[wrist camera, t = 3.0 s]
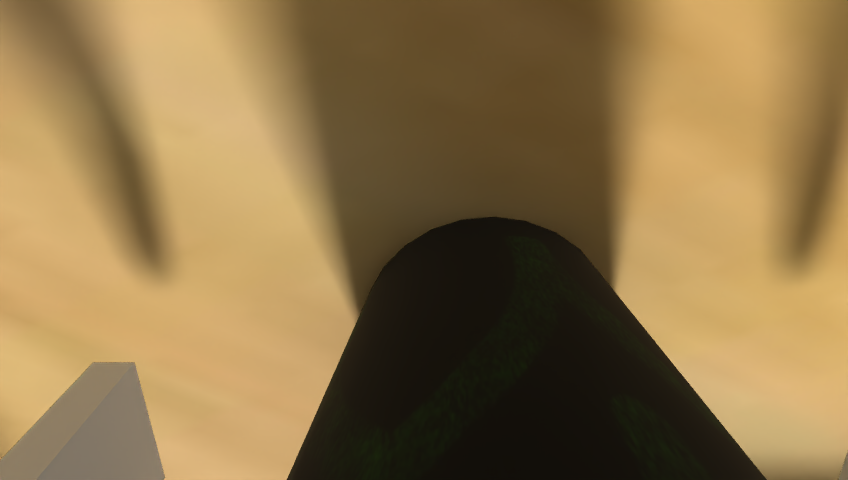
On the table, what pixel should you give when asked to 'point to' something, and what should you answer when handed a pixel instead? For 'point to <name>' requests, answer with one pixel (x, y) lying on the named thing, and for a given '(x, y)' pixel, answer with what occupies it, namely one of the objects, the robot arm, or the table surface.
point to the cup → (508, 374)
